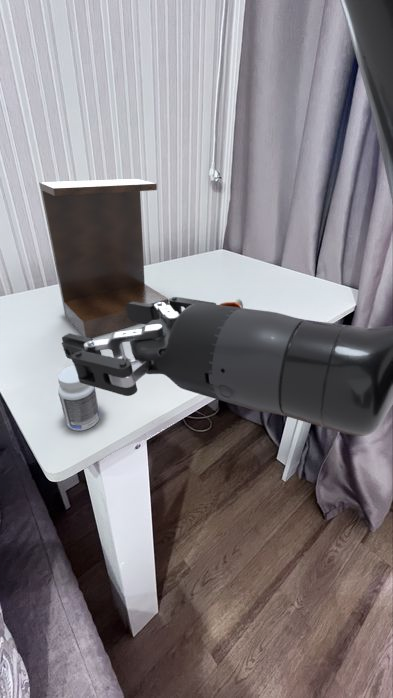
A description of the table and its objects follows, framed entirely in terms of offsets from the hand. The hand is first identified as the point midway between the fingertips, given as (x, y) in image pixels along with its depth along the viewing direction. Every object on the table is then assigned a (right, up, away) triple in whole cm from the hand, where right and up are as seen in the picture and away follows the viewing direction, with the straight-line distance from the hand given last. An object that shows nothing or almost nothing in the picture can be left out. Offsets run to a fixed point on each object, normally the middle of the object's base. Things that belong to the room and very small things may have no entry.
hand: (100, 326), depth 35 cm
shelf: (-8, +5, +41) cm, 42 cm away
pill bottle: (-7, -13, +14) cm, 20 cm away
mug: (+18, +1, +37) cm, 41 cm away
